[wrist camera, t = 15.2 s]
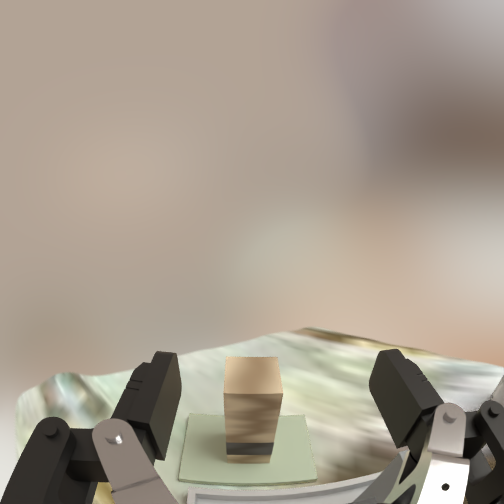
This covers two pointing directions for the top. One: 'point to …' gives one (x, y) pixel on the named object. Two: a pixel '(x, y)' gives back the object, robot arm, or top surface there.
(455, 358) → the top surface
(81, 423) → the top surface
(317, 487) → the parts tray
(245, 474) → the pad
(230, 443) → the banded wooden block
